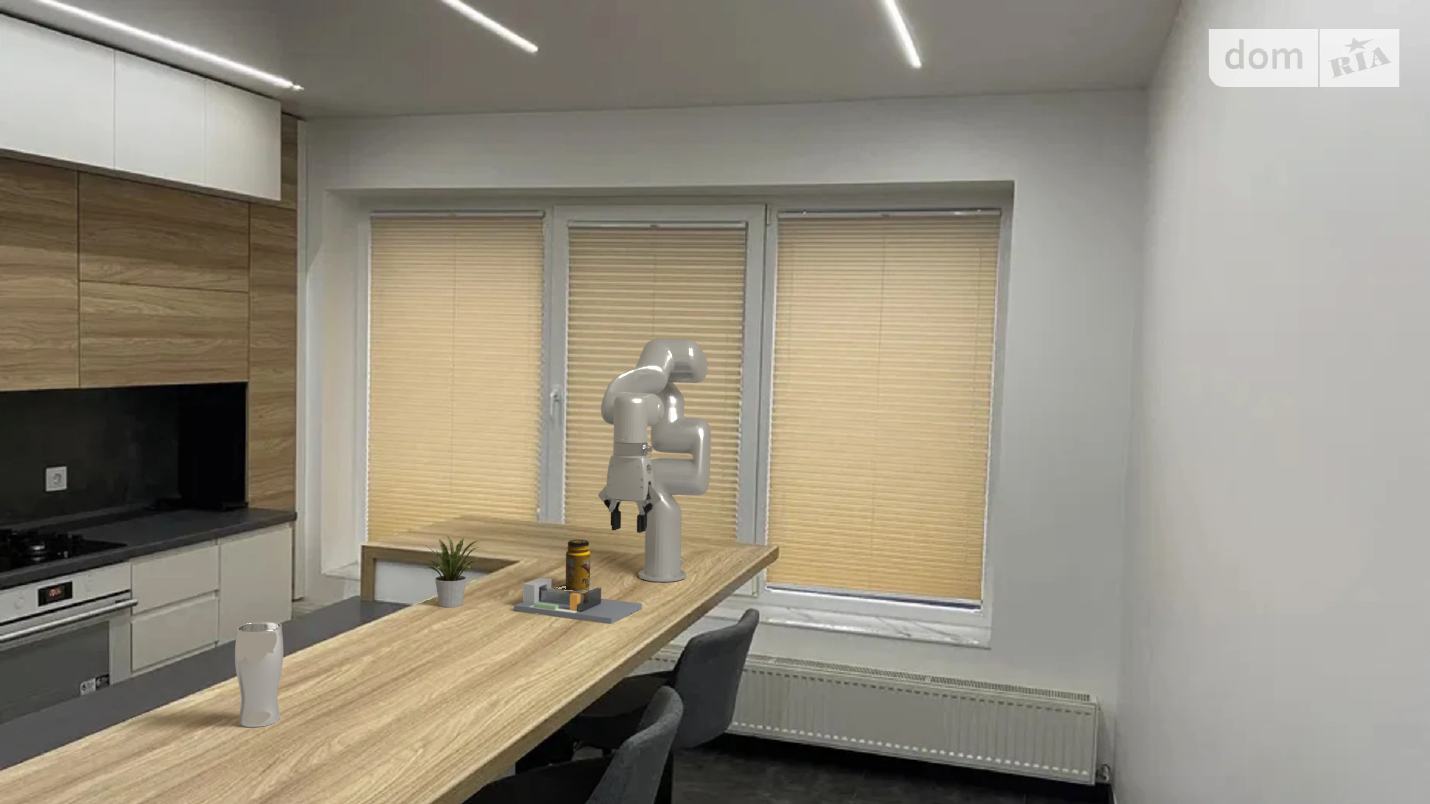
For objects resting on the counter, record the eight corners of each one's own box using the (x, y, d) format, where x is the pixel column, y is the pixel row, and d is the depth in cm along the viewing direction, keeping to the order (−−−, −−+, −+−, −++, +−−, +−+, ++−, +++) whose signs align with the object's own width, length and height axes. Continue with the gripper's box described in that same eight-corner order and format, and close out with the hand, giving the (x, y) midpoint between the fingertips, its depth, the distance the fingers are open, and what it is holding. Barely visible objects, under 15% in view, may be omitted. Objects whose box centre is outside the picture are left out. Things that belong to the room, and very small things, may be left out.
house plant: (500, 602, 242) (500, 533, 241) (462, 615, 230) (463, 542, 229) (451, 595, 248) (452, 527, 247) (411, 607, 236) (412, 536, 235)
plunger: (544, 596, 244) (544, 581, 244) (600, 603, 238) (601, 588, 238) (524, 603, 236) (524, 588, 236) (582, 611, 230) (582, 596, 230)
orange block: (573, 608, 233) (573, 592, 233) (580, 609, 232) (580, 593, 232) (569, 609, 231) (570, 594, 231) (576, 610, 231) (577, 595, 231)
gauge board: (548, 596, 249) (548, 574, 248) (641, 608, 239) (642, 585, 239) (513, 610, 235) (514, 587, 234) (611, 623, 225) (611, 599, 225)
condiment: (596, 590, 257) (596, 542, 257) (564, 593, 253) (565, 545, 252) (582, 584, 263) (583, 537, 263) (552, 587, 259) (553, 540, 258)
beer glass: (244, 713, 166) (244, 620, 165) (289, 712, 167) (289, 620, 166) (227, 728, 159) (227, 632, 158) (274, 728, 160) (274, 632, 159)
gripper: (672, 451, 231) (670, 531, 232) (604, 446, 237) (602, 525, 238) (657, 453, 224) (656, 536, 225) (588, 449, 230) (586, 529, 231)
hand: (628, 529), depth 231 cm, fingers open, 5 cm apart
